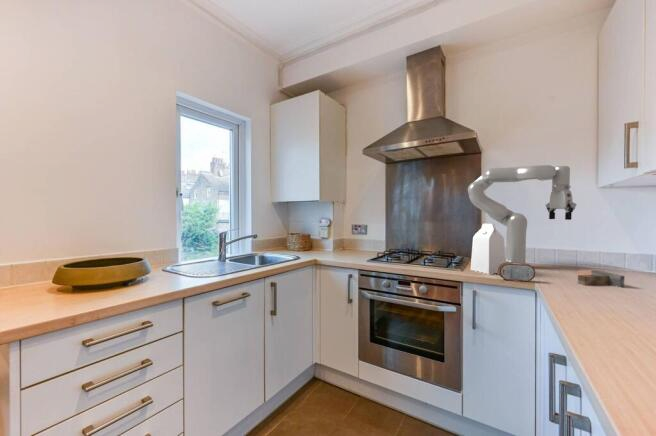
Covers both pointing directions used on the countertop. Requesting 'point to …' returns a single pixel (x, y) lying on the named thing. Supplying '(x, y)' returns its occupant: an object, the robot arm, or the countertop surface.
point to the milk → (487, 250)
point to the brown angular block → (601, 279)
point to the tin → (516, 271)
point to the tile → (587, 272)
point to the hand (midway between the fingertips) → (559, 219)
